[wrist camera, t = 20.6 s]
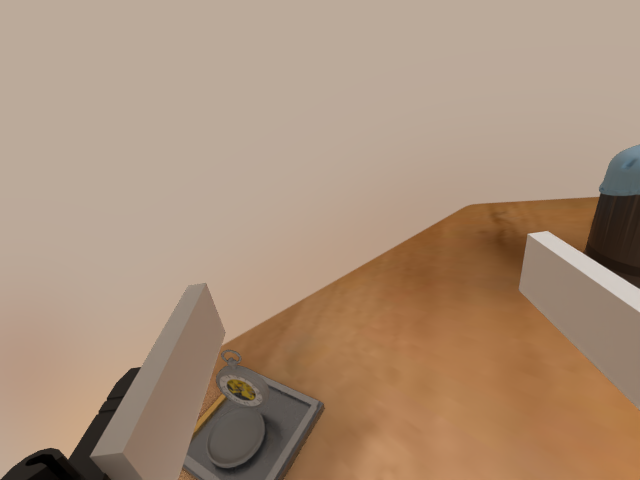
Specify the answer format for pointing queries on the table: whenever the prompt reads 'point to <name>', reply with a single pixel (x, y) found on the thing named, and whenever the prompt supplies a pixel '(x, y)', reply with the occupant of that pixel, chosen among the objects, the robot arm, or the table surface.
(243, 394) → the pocket watch
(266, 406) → the pocket plate
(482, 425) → the table surface
